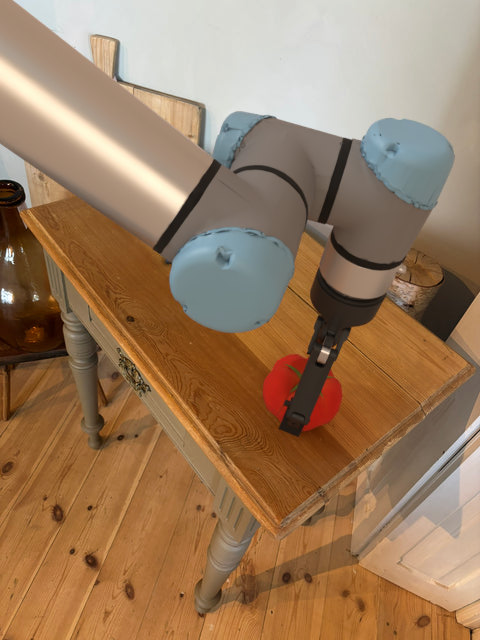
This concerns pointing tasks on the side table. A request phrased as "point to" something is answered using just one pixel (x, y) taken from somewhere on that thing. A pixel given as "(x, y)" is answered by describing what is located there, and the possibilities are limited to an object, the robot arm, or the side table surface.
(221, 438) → the side table surface
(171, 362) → the side table surface
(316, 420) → the tomato
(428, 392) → the side table surface
